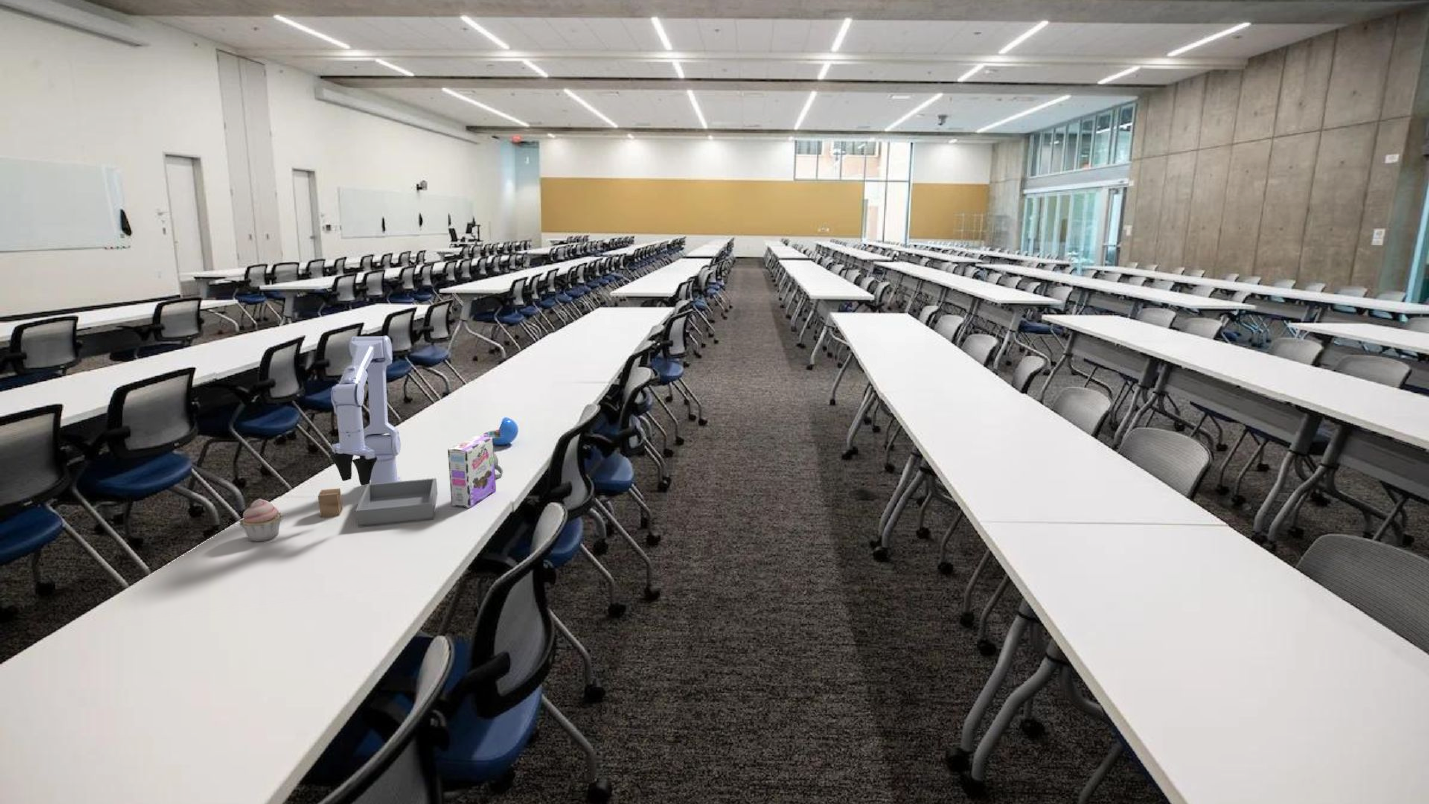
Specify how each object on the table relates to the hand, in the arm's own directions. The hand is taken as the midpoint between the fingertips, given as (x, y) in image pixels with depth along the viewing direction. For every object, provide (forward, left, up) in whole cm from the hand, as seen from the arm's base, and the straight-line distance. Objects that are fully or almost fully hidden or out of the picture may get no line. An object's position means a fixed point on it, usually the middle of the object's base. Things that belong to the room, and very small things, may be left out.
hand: (355, 482), depth 191 cm
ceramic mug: (-26, +31, -11) cm, 42 cm away
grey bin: (-4, +9, -10) cm, 14 cm away
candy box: (-7, +28, -10) cm, 31 cm away
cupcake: (+6, -21, -10) cm, 24 cm away
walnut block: (-6, -8, -10) cm, 14 cm away
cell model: (-58, +37, -10) cm, 70 cm away
